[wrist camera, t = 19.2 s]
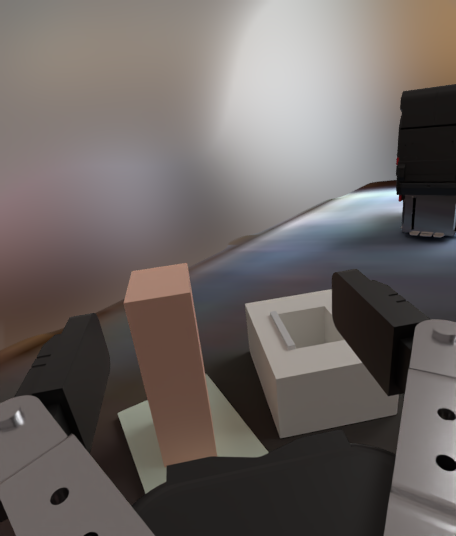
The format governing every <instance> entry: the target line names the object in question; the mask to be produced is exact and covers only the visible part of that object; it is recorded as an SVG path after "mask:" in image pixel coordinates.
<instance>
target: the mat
mask: <svg viewBox="0 0 456 536" xmlns="http://www.w3.org/2000/svg"><path fill="white" fill-rule="evenodd" d="M205 377H206V383H207V389H208V395H209V401H210V407H211V414H212V422H213V429H214V436H215V444H216V451H217V456H218V457H260V456H263V455H265V454H267V453H269V452H268V451H267V450H266V449H265V447H264V446H263V445H262V444H261V442H260V441H259V440H258V438H257V437H256V436H255V435H254V433H253V432H252V431H251V430H250V428H249V427H248V426H247V425H246V423H245V422H244V421H243V419H242V418H241V417H240V416H239V414H238V413H237V412H236V411H235V409H234V408H233V407H232V406H231V404H230V403H229V402H228V400H227V399H226V398H225V397H224V395H223V394H222V393H221V392H220V390H219V389H218V388H217V387H216V385H215V384H214V383H213V381H212V380H211V379H210V378H209V376H208V375H207V374H206V375H205ZM118 416H119V420H120V422H121V425H122V428H123V431H124V434H125V437H126V440H127V442H128V445H129V448H130V451H131V454H132V457H133V460H134V463H135V465H136V468H137V471H138V474H139V477H140V480H141V483H142V485H143V488H144V491H145V494H146V493H147V492H149V491H150V490H152V489H154V488H155V487H157V486H159V485H160V484H162V483H164V482H166V469H167V467H164V463H163V459H162V455H161V451H160V447H159V443H158V439H157V435H156V431H155V427H154V423H153V419H152V415H151V411H150V407H149V403H148V400H147V401H144V402H142V403H140V404H137V405H135V406H133V407H131V408H128V409H126V410H124V411H121V412H119V413H118Z"/></svg>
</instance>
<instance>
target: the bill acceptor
mask: <svg viewBox="0 0 456 536" xmlns="http://www.w3.org/2000/svg"><path fill="white" fill-rule="evenodd" d="M400 110H401V112H402V116H401V119H400V125H399V136H398V153H397V163H396V164H397V165H398V166H397V169H396V175H397V185H396V191H397V195H399V201H402V200H403V213H402V227H401V229H402V232H409V233H410V235H413V236H418V235H419V234H420V235H419V236H425V237H431V236H432V235H433V237H438V238H441V237H443V236H445V235H449V236H453V235H454V234H455V233H456V84H454V85H446V86H439V87H432V88H425V89H417V90H410V91H403V93H402V97H401V105H400Z"/></svg>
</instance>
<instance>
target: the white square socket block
mask: <svg viewBox="0 0 456 536" xmlns="http://www.w3.org/2000/svg"><path fill="white" fill-rule="evenodd" d="M245 310H246V320H247V330H248V340H249V350H250V354H251V357H252V360H253V362H254V365H255V368H256V371H257V374H258V377H259V380H260V382H261V385H262V388H263V391H264V394H265V397H266V400H267V403H268V405H269V408H270V411H271V414H272V417H273V420H274V423H275V425H276V428H277V431H278V434H279V437H280V438H285V437H290V436H295V435H300V434H305V433H309V432H314V431H319V430H324V429H329V428H334V427H338V426H343V425H348V424H353V423H358V422H363V421H367V420H372V419H377V418H382V417H387V416H392V415H396V414H397V408H398V398H399V394H398V395H393V396H387V394H386V393H385V392H384V390H383V389H382V388H381V387H380V385H379V384H378V383H377V381H376V380H375V379H374V377H373V376H372V375H371V374H370V372H369V371H368V370H367V368H366V367H365V366H364V364H363V363H362V362H361V361H360V359H359V358H358V357H357V355H356V354H355V353H354V351H353V350H352V349H351V347H350V346H349V345H348V344H347V342H346V341H345V340H344V338H343V337H342V336H341V334H340V333H339V332H338V331H337V329H336V327H335V325H334V322H333V318H332V289H331V290H325V291H319V292H313V293H307V294H301V295H295V296H289V297H283V298H277V299H271V300H265V301H259V302H253V303H247V304H245Z"/></svg>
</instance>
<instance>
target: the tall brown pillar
mask: <svg viewBox="0 0 456 536" xmlns="http://www.w3.org/2000/svg"><path fill="white" fill-rule="evenodd" d="M124 307H125V311H126V315H127V319H128V323H129V327H130V331H131V335H132V339H133V343H134V347H135V351H136V355H137V359H138V363H139V367H140V371H141V375H142V379H143V383H144V387H145V391H146V395H147V399H148V403H149V407H150V411H151V415H152V419H153V423H154V427H155V431H156V435H157V439H158V443H159V447H160V451H161V455H162V459H163V463H164V467H167V465H172V464H177V463H182V462H186V461H191V460H196V459H201V458H205V457H210V456H217V451H216V444H215V436H214V429H213V422H212V414H211V407H210V401H209V395H208V389H207V383H206V377H205V370H204V364H203V358H202V352H201V346H200V340H199V334H198V327H197V321H196V315H195V309H194V303H193V297H192V291H191V284H190V278H189V272H188V266H187V263H183V264H176V265H170V266H163V267H157V268H150V269H144V270H137V271H132V273H131V277H130V281H129V285H128V289H127V292H126V296H125V300H124Z"/></svg>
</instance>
